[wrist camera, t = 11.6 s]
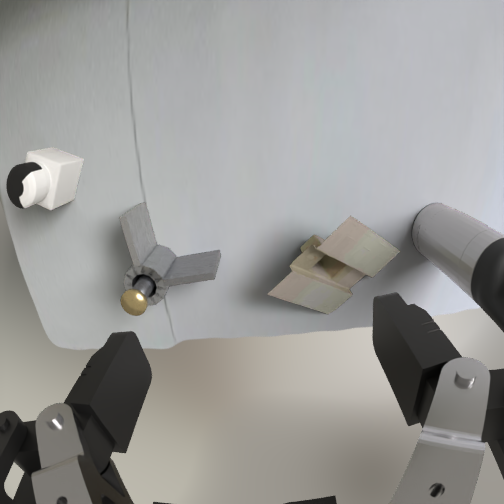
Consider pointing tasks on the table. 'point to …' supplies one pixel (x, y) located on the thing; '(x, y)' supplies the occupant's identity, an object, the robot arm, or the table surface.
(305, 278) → the beige folded piece
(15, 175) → the medicine bottle
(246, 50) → the table surface
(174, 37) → the table surface
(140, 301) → the pin
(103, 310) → the table surface
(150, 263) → the hinge
